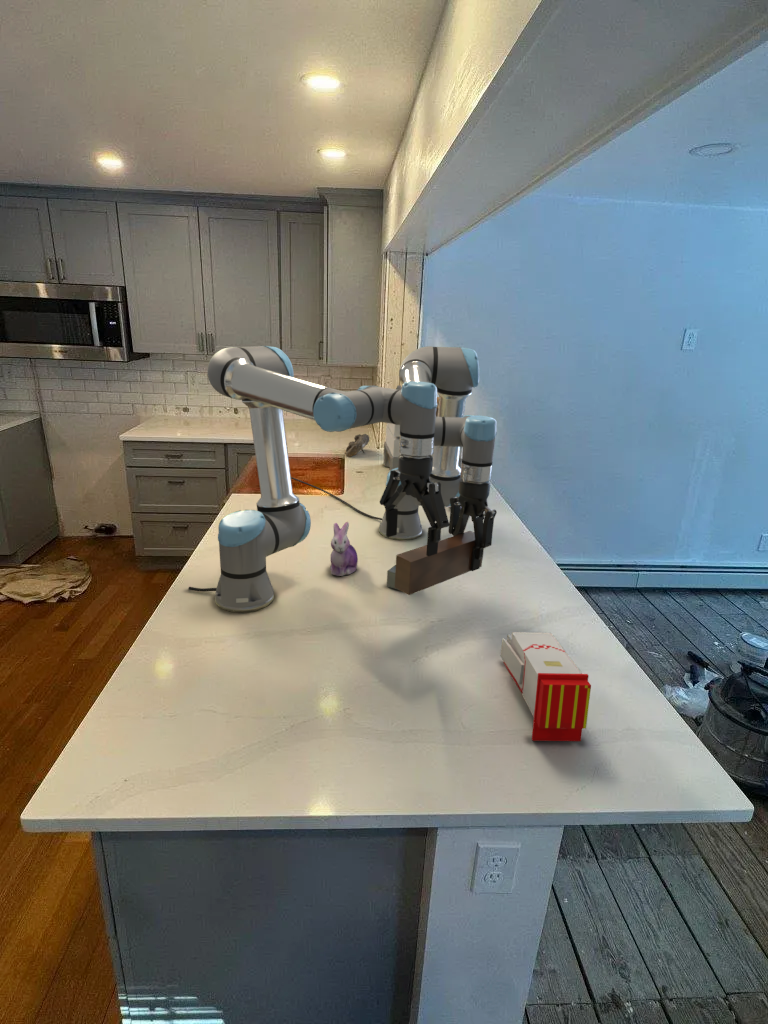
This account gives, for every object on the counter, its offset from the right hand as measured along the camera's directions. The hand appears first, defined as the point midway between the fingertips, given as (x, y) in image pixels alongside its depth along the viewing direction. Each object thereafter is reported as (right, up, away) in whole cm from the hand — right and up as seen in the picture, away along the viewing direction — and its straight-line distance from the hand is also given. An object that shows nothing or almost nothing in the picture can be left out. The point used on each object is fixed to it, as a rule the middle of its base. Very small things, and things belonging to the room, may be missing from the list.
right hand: (466, 565), depth 148 cm
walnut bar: (-7, -2, -6) cm, 10 cm away
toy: (+10, -24, -29) cm, 39 cm away
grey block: (-17, -7, +15) cm, 24 cm away
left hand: (-15, +6, -17) cm, 24 cm away
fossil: (-36, +46, +160) cm, 170 cm away
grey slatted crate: (-4, +33, +127) cm, 132 cm away
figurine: (-34, -4, +23) cm, 41 cm away
